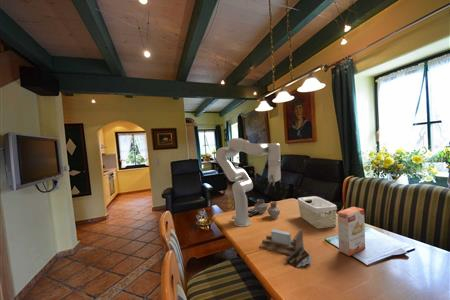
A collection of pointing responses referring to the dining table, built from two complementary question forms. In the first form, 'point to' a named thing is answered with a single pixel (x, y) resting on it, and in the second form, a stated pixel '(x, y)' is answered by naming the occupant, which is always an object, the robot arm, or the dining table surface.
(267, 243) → the track base
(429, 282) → the dining table surface
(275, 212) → the pottery
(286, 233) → the door slab
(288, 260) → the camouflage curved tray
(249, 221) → the robot arm
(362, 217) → the cracker box
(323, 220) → the storage basket
